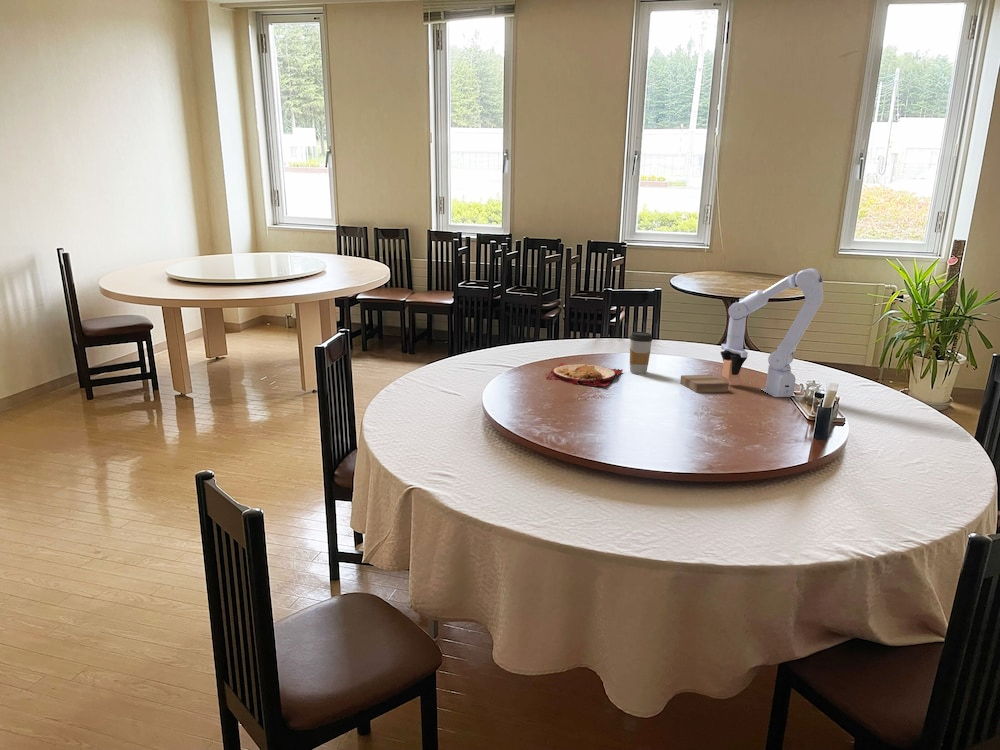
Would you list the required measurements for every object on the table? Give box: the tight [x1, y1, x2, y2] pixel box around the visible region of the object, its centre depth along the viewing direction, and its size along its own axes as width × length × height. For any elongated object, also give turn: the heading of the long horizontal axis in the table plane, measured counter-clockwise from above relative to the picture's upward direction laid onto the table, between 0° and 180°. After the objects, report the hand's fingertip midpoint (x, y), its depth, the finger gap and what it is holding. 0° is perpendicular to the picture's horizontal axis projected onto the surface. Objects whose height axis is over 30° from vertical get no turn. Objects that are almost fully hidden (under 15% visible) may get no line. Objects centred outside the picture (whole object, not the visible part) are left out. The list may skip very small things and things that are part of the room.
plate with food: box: [544, 363, 623, 388], centre depth 260 cm, size 25×26×4 cm
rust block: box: [721, 360, 742, 380], centre depth 255 cm, size 4×4×6 cm
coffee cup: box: [629, 331, 653, 375], centre depth 267 cm, size 8×8×15 cm
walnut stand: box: [680, 374, 730, 393], centre depth 251 cm, size 12×12×3 cm
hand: (731, 372), depth 255 cm, fingers closed on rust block, 4 cm apart
